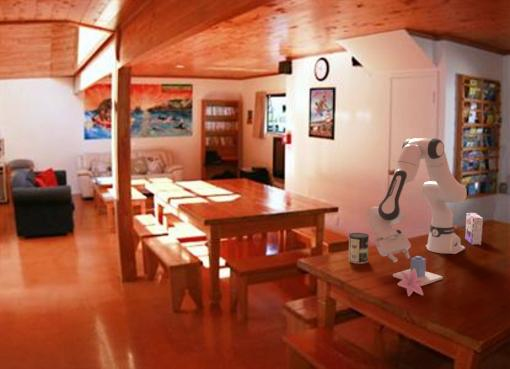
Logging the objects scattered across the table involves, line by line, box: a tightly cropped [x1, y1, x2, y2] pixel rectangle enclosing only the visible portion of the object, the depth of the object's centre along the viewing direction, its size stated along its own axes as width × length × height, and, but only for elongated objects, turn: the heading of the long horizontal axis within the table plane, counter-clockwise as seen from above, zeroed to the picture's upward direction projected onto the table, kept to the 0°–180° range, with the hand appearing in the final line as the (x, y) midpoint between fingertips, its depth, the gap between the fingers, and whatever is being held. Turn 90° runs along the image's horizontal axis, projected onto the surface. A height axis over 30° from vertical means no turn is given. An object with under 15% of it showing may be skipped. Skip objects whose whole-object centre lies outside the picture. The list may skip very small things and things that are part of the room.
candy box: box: [464, 212, 484, 246], centre depth 292 cm, size 14×6×16 cm, turn 172°
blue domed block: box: [409, 255, 427, 278], centre depth 231 cm, size 5×5×9 cm
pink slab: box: [392, 268, 443, 287], centre depth 231 cm, size 16×16×7 cm
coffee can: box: [348, 232, 370, 265], centre depth 257 cm, size 10×10×14 cm
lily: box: [397, 268, 424, 297], centre depth 213 cm, size 12×12×10 cm
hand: (402, 259), depth 238 cm, fingers open, 8 cm apart
